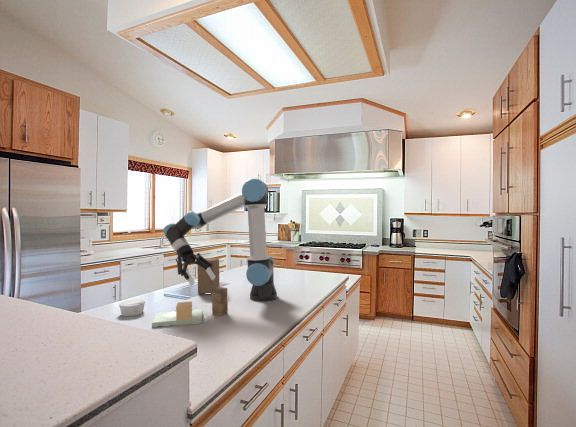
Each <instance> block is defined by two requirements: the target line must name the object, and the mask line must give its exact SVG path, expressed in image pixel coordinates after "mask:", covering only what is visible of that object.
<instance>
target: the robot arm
mask: <svg viewBox="0 0 576 427" xmlns="http://www.w3.org/2000/svg"><path fill="white" fill-rule="evenodd" d="M268 195H269V188H268V185H267V184H266V183H265V182H264V181H263V180H262V179H258V178H249V179H248V180H246V181H245V182H244V183H243V185H242V188H241V192H240V193H238V194H236V195H233V196H232V197H230V198H228V199H226V200H223V201H222V202H219V203H217V204H215V205H213V206H211V207H209V208H206V209H205V210H202V211H200V212H198V213H196V212H195V211H193V210H190V211H188V212H187V213H185V214H184V216H182V217H181V219H179V220H178V221H177V222H176V223H175V222H171V223H168V224H167V225H165V227H164V228H163V234H164V235H165V238H166V239H167V241H168V242H169V244H170V246H171V247H172V248H173V250H174V251H175V253H176V255H177V257H176V259H175V262H176V265H177V267H176V268H177V274H178V275H180V276H181V277H184V279H185V280H186V281H187V282H188V284H189V286H191V287H193V285H194V284H195V283H196V281H195V280H194V278H193V277H192V275H191V273H190V272H189V271H188V265H193V264H194V265H196V266H198V265H199V266H201V267H203V268H204V269H206V272H207V273H208V275H209V276H210V278H211V279H212V280H214V279H215V277H216V276H215V275H214V273H213V271H212V269H211V266H212V264H211V263H210V262H208V261H207V260H206V259H205V258H206V257H204V256H202V255H201V254H200V253H199V252H198V253H196V254H194V250H193V248H192V247H191V245H190V244H189V242H188V240H187V239H186V238H185V235H187V234H188V233H189V232H190V231H191V230H195V229H201V228H203V227H204V226H206V225H208V224H210V223H212V222H215V221H216V220H218V219H220V218H222V217H225V216H227V215H229V214H232V213H233V212H236V211H237V210H240V209H242V208H244V207H245V208H246V209H247V224H248V240H249V241H248V242H249V243H248V244H249V256H248V257H247V258H246V259H247V260H246V262H247V269H246V272H245V273H246V279H247V281H248V282H249V283H250V284H251V285H252V286H251V289H250V293H249V299H250V300H252V301H256V302H266V301H267V302H268V301H272V300H276V299H277V298H278V292H277V290H276V286H275V283H274V281H275V280H274V278H275V276H274V263H275V261H274V257H273V256H269V255H268V253H267V234H266V217H265V216H266V214H265V208H266V207H267V205H268V200H267V199H268V198H267V197H268Z"/></svg>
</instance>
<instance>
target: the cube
mask: <svg viewBox="0 0 576 427" xmlns="http://www.w3.org/2000/svg"><path fill="white" fill-rule="evenodd" d="M175 309H176V310H175V311H176V320H188V319H191V317H192V310H193V301H183V302H181V301H180V302H177V303H176V306H175Z"/></svg>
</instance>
